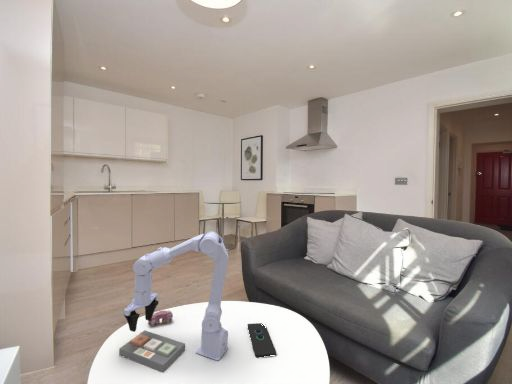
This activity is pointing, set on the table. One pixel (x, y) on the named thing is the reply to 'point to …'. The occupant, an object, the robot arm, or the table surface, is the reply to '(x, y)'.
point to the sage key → (166, 350)
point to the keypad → (151, 357)
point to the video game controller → (161, 317)
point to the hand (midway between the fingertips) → (140, 325)
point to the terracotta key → (140, 340)
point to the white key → (153, 345)
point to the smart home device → (261, 340)
